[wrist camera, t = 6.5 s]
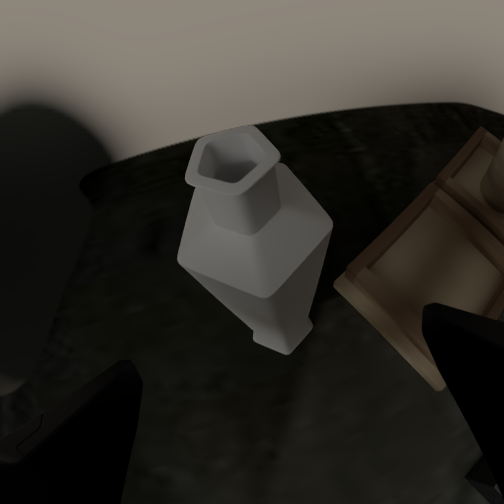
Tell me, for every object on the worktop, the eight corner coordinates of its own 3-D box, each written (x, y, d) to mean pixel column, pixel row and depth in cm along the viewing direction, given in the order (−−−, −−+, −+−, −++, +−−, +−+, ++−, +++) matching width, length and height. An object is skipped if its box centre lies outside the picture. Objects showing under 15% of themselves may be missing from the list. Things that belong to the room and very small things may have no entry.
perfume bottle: (328, 303, 20) (357, 113, 7) (302, 366, 19) (293, 268, 6) (264, 279, 22) (200, 87, 9) (235, 338, 20) (108, 202, 7)
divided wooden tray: (546, 207, 20) (558, 191, 18) (436, 391, 16) (451, 388, 14) (472, 142, 24) (479, 124, 22) (333, 286, 21) (336, 271, 19)
